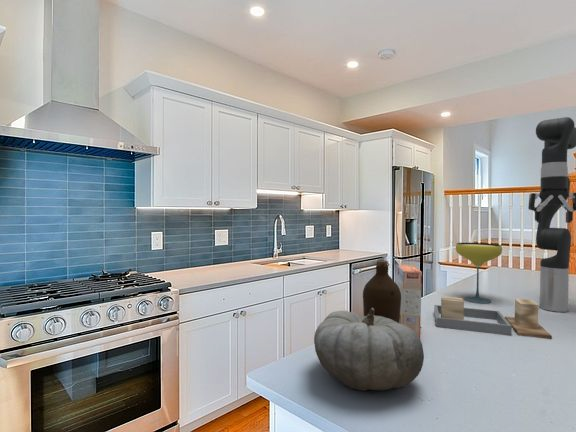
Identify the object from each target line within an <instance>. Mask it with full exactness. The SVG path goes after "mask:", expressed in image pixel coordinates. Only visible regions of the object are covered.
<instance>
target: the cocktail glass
mask: <svg viewBox="0 0 576 432" xmlns="http://www.w3.org/2000/svg"><path fill="white" fill-rule="evenodd" d="M455 251H456V253H457V254H458V255H459V256H461V257H462V258H464V259H466V260H468V261H470V262H471V263H472V264H473V265H474V267H475V268H476V290H475V291H476V292H475V296H465V297H464V298H463V301H464V300H465V301H466V302H470V303H475V304H491V303H492V300H491V299H488V298H486V297H485V298H484V297H481V296H480V292H479V285H480V284H479V283H480V282H479V274H480V273H479V270H480V269H479V268H481V267H482V266H483V265H484V264H485V263H487V262H490V261H492V260H494V259H496V258H498V257H500V256H501V255H502V253H503V247H502V245H501V244H496V243H495V244H494V243H486V242H457V243H456V244H455Z"/></svg>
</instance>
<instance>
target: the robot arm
mask: <svg viewBox="0 0 576 432" xmlns="http://www.w3.org/2000/svg"><path fill="white" fill-rule="evenodd" d="M535 135H536V137H537V138H538V139H539V141H543V142H544V143H543V146H544V148H543V149H542V150H541V165H540V166H541V168H540V188H539V189H540V191H539V193H535V192H531V193H530V194H529V196H528V197H529V199H528V206H527V207H528V210H530V211H533V212H534V221H535V222H536V223H537V229H536V235H535V243H536V246H537V248H538V249H540V250H544V251H545V250H546V251H556V253H555V255H553V256H551V257H545V258H541V259H540V261H539V262H540V264H539V265H540V267H539V268H540V270H539V271H540V276H539V308H540V309H543V310H545V311H546V310H547V311H550V312H557V313H558V312H559V313H565V312H569V286H570V285H569V281H570V279H569V278H570V277H569V275H570V274H569V271H570V259H571V255H570V254H571V244H572V234H571V232H570V230H569V229H568V228H565V227H551V223H552V220H553V218H554V216H555V215H556V213H557V212H558V211H559V210H560V209H561V207H562V208H564V210H565V223H568V224H570V223H571V222H572V221H573V220H574V218H573V217H574V212H575V211H576V192H572V193H571V192H570V188H571V180H570V178H569V171H568V170H569V169H568V150H571V149H574V148H576V126H575V121H574V119H572V117H568V116H565V117H560V118H559V117H558V118H551V119H545V120H544V119H543V120H541V121H540V122H539V123H537V125H536V127H535ZM538 197H539V199H540V202H539V203H538V205H537V206H535V203H536V200H537V199H538ZM569 198H570V200H571V202H572V206H571V205H570V203H569V202H568V199H569Z"/></svg>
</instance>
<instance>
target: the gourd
mask: <svg viewBox="0 0 576 432" xmlns="http://www.w3.org/2000/svg"><path fill="white" fill-rule="evenodd" d="M313 337H314V338H313V341H314V342H313V343H314V351H315V354H316V357H317V359H318V361H319V363H320V365H321V366H322V367H323V368H324V370H326V372H327V373H329V375H331V376H332V377H333V378H336V379H337V380H338V381H339V382H340V383H341V384H343V385H344V386H347V387H349V388H351V389H353V390H359V391H363V392H365V391H368V390H371V391H381V392H382V391H386V390H391V389H397V388H402V387H405V386H407V385H408V384H410V383H412V382H413V381H414V380H415V379H416V378H418V376H419V375H420V373H421V372H422V368H423V366H424V359H425V355H424V354H425V353H424V347H423V342H422V341H421V337H420V338H419V337H418V335H417V334H416V333H415V332H414V331H413V330H412V329H410V328H409V327H407V326H405V325H403V324H399V323H398V322H396V321H394V320H392V319H389V318H385V317H382V316H375V315H374V308H372V309H371V310H370V312H369V314H368V315H367V316H364V315H361V314H358V313H356V312H352V311H348V310H336V311H332V312H331V313H329V314H327V316H326V317H325V318H324V320H323V321H321V323H320V324H319V325H318V326H317V328H316V330H315V332H314V335H313Z"/></svg>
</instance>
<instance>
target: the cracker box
mask: <svg viewBox="0 0 576 432" xmlns="http://www.w3.org/2000/svg"><path fill="white" fill-rule="evenodd" d="M397 265H398V266H397V285H398V287H399V289H400V292H401V308H400V323H399V324H403V325H405V326H407V327H409V328H410V329H412V330H413V331H414V332H415V333H416V334H417V335H418V337H419V338H420V339H421V324H422V323H421V321H422V320H421V316H422V315H421V314H422V287H423V286H422V282H423V281H422V279H423V278H422V277H423V272H422V271H421V270H420V269H419V268H418V267H417V266H415V265H413V264H397Z"/></svg>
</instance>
